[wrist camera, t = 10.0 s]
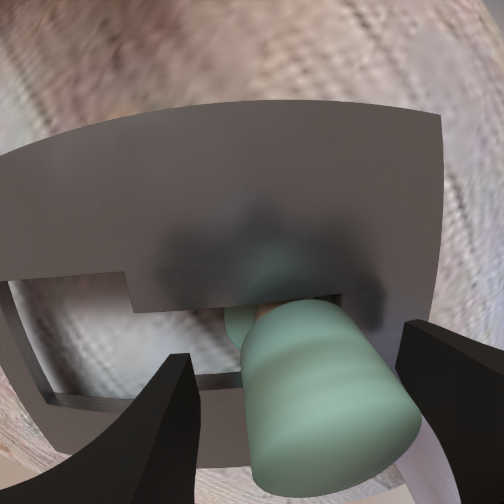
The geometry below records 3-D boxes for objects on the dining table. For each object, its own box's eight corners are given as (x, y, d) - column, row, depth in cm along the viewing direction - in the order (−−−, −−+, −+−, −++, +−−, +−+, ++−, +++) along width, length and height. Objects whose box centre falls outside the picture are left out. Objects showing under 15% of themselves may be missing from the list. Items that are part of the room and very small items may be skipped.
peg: (331, 345, 14) (402, 477, 6) (228, 355, 13) (237, 512, 6) (339, 246, 12) (468, 353, 4) (219, 253, 12) (214, 404, 4)
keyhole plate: (374, 404, 15) (391, 434, 13) (69, 422, 14) (56, 451, 11) (401, 121, 11) (440, 115, 8) (-15, 174, 9) (-52, 181, 7)
